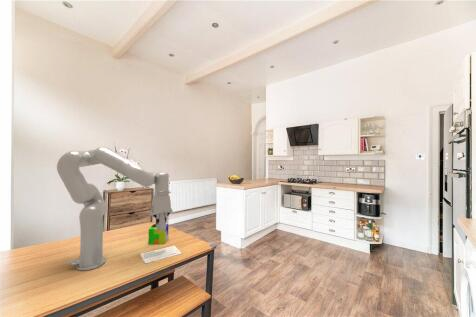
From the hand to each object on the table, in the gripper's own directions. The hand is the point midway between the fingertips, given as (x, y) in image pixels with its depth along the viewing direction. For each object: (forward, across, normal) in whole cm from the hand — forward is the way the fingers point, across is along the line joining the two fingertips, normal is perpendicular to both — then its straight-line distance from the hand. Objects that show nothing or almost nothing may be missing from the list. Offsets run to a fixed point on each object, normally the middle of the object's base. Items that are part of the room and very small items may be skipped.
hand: (161, 224), depth 118 cm
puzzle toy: (+17, -4, -19) cm, 26 cm away
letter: (+17, 0, 0) cm, 17 cm away
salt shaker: (+3, 0, 0) cm, 3 cm away
